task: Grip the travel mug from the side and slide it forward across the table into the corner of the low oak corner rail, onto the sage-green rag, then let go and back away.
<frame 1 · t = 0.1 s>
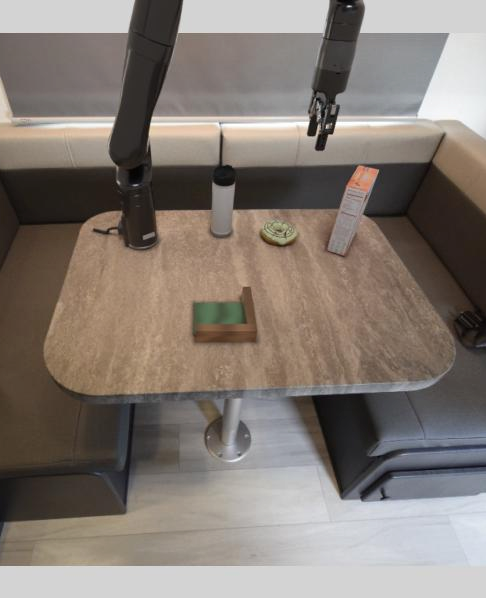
hand: (314, 143, 85), 29 cm above the table, tool pointing down, fingers open, 8 cm apart
cracker box: (340, 242, 107), on the table
decorated donut: (277, 238, 107), on the table
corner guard: (255, 342, 79), on the table
travel mug: (221, 232, 109), on the table
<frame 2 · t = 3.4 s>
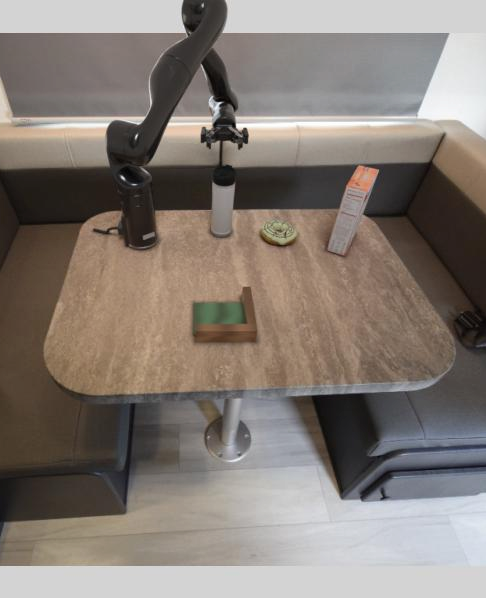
hand: (224, 146, 101), 22 cm above the table, tool horizontal, fingers open, 8 cm apart
nothing on the table moved.
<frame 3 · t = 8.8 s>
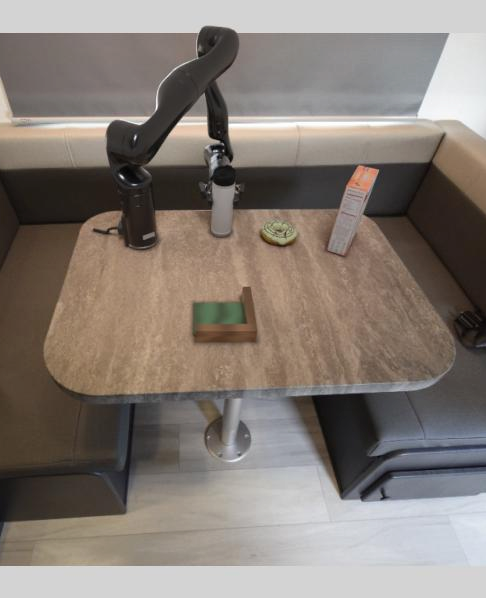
hand: (223, 203, 99), 11 cm above the table, tool horizontal, fingers closed on travel mug, 6 cm apart
travel mug: (221, 232, 109), on the table, touching gripper
everything else where it was.
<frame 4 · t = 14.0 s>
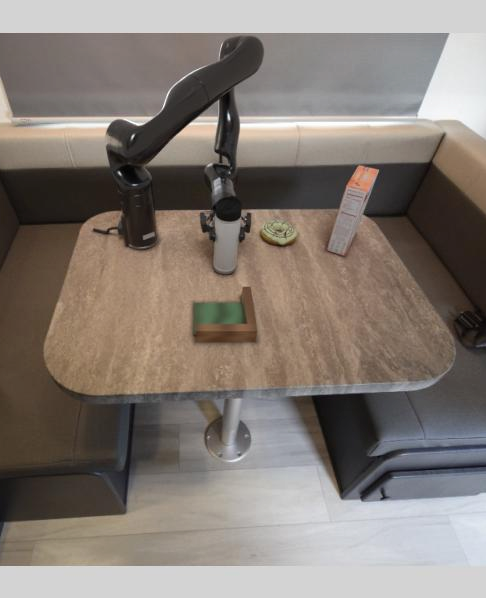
hand: (227, 239, 87), 11 cm above the table, tool horizontal, fingers closed on travel mug, 6 cm apart
travel mug: (224, 267, 97), on the table, touching gripper
everything else where it was.
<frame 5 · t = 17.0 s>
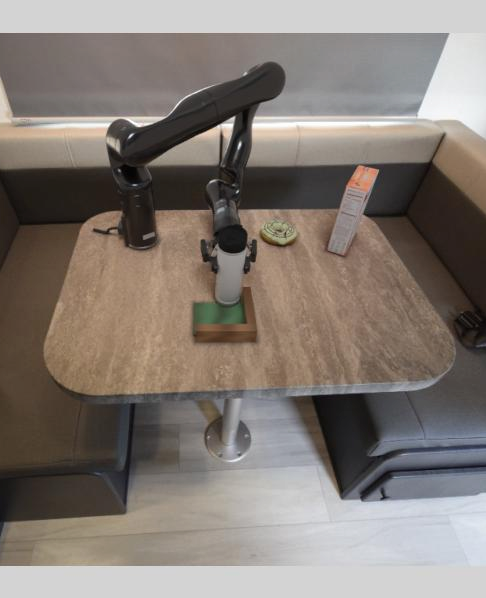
hand: (231, 271, 78), 11 cm above the table, tool horizontal, fingers closed on travel mug, 6 cm apart
travel mug: (227, 298, 88), on the table, touching gripper
everything else where it was.
when the fingers open (11 cm above the table, at t = 19.6 s): travel mug stays where it is, resting on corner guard.
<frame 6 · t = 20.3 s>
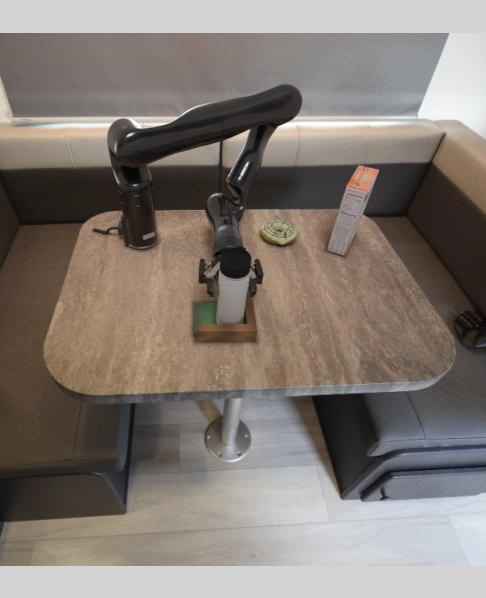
hand: (232, 294, 73), 11 cm above the table, tool horizontal, fingers open, 8 cm apart
travel mug: (229, 322, 83), resting on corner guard
everything else where it was.
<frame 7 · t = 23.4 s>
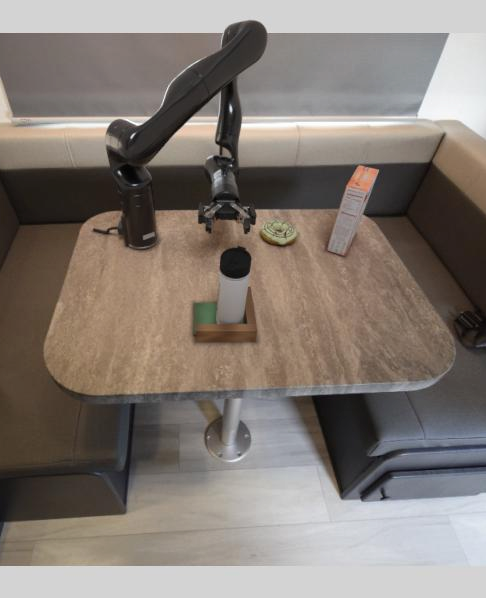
hand: (228, 230, 82), 16 cm above the table, tool horizontal, fingers open, 8 cm apart
nothing on the table moved.
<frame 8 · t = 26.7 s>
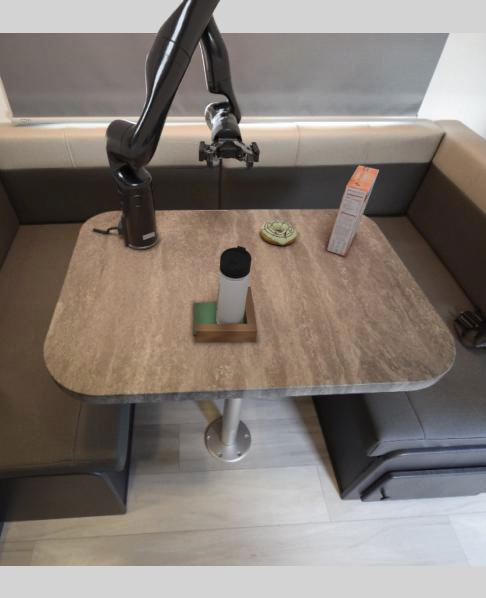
hand: (230, 165, 78), 28 cm above the table, tool horizontal, fingers open, 8 cm apart
nothing on the table moved.
at the end: travel mug 0.3 cm from the target spot on the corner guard, point 0.1 cm above the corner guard's base; travel mug tilted 0°; the gripper is holding nothing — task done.
